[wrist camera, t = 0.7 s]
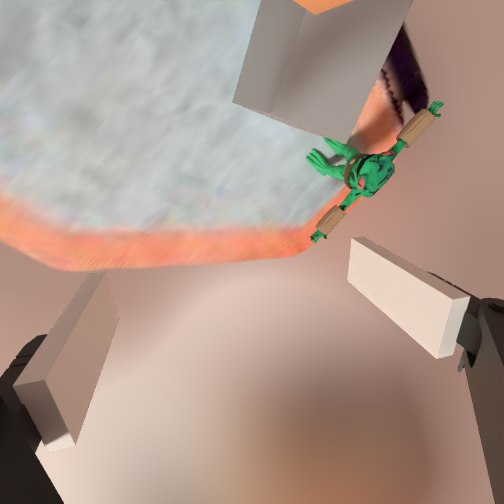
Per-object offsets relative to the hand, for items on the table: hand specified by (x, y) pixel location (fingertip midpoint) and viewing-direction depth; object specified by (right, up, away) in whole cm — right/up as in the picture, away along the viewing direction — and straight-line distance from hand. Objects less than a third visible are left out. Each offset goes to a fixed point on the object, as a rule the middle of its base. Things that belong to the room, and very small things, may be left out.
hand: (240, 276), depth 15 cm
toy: (+14, +19, +35) cm, 42 cm away
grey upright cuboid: (+5, +28, +25) cm, 38 cm away
